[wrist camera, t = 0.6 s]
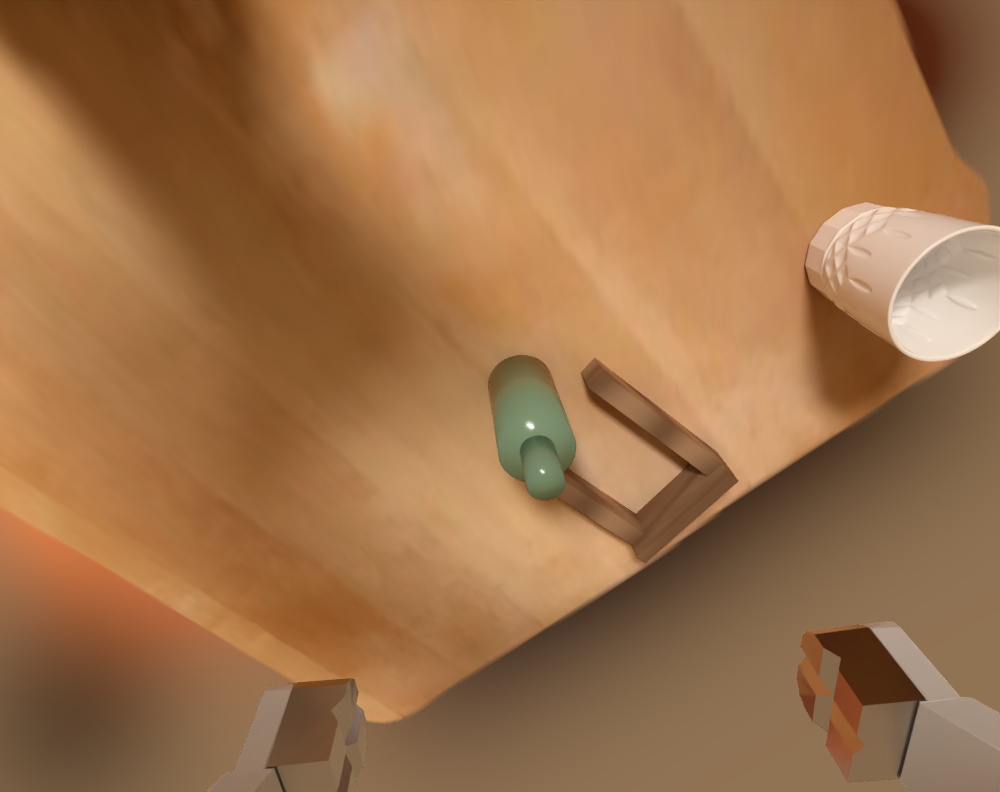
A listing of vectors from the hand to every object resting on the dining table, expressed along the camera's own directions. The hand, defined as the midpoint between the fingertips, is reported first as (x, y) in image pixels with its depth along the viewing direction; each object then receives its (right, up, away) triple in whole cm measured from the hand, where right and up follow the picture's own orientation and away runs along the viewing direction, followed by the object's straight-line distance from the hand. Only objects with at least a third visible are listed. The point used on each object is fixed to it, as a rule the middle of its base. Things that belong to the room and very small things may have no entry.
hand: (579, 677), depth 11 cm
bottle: (0, +6, +34) cm, 35 cm away
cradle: (+7, +1, +37) cm, 38 cm away
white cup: (+23, +15, +32) cm, 42 cm away
